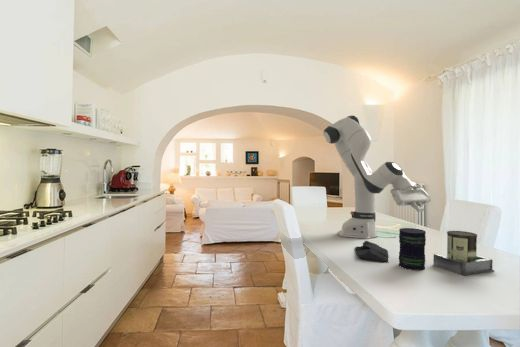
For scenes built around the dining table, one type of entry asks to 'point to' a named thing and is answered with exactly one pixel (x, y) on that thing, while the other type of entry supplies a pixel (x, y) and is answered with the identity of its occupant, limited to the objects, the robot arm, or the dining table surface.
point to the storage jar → (412, 248)
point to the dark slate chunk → (372, 252)
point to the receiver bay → (464, 265)
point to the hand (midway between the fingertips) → (421, 210)
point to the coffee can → (461, 245)
